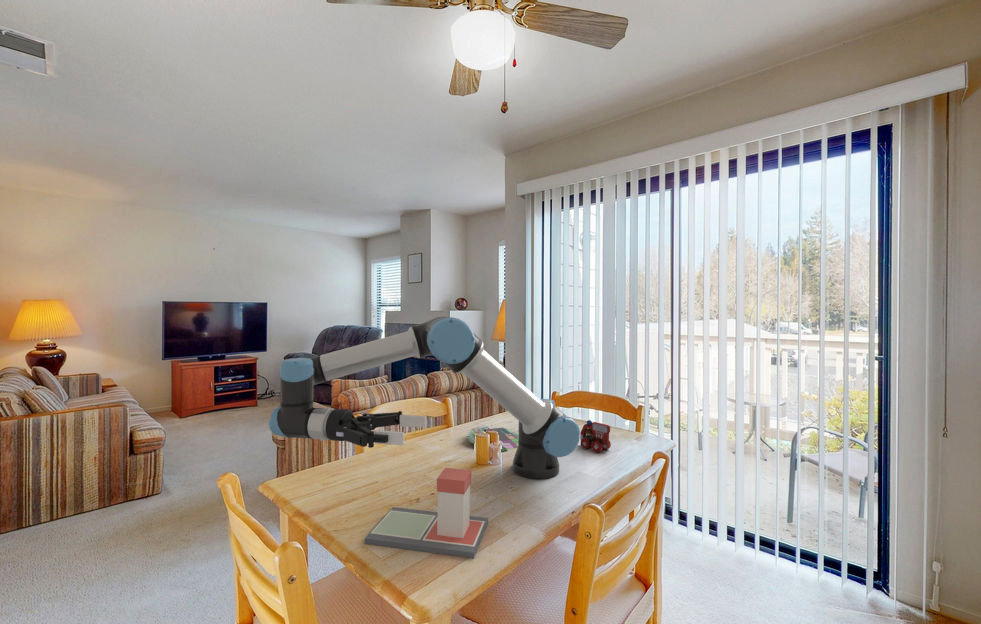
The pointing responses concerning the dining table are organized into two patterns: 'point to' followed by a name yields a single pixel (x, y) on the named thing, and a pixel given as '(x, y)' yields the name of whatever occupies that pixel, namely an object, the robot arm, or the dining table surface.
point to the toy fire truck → (595, 436)
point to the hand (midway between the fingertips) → (414, 429)
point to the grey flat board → (424, 533)
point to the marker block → (453, 502)
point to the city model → (505, 436)
